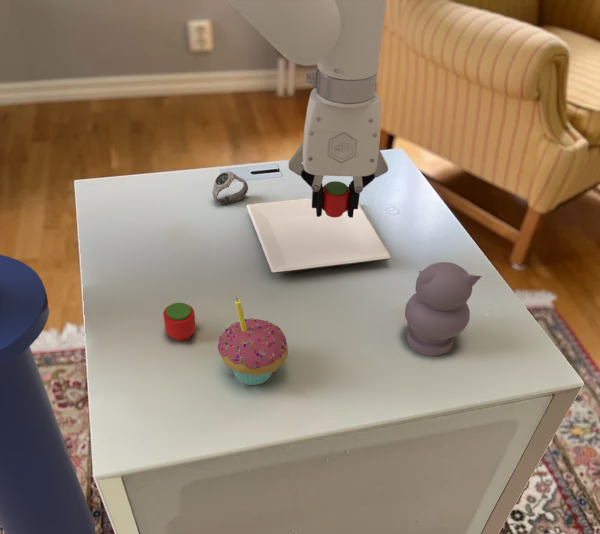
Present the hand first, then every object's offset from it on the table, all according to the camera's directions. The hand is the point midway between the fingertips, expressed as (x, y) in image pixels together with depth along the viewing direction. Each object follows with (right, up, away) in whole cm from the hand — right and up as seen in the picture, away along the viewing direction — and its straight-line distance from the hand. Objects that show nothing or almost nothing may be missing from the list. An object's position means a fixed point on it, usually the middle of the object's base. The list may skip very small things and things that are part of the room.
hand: (334, 211), depth 94 cm
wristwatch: (-17, +6, +15) cm, 23 cm away
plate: (-3, -2, +8) cm, 9 cm away
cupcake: (-11, -24, -12) cm, 29 cm away
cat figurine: (+13, -20, -6) cm, 24 cm away
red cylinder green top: (0, 0, 0) cm, 0 cm away
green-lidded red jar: (-21, -19, -8) cm, 30 cm away
